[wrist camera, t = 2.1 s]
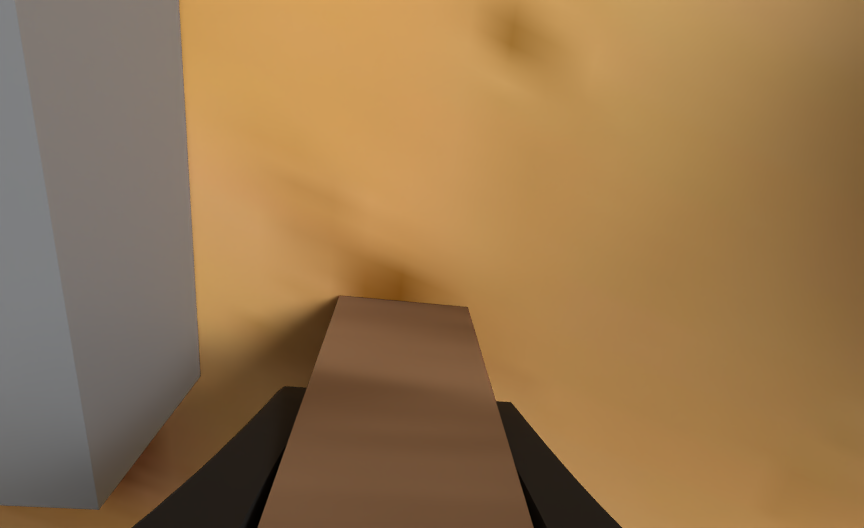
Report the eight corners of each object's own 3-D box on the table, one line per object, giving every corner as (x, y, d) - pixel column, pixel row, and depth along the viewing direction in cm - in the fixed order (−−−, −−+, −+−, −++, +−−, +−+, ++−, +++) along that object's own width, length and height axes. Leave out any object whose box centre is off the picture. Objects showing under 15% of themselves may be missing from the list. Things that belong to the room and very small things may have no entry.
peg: (450, 411, 12) (518, 902, 5) (333, 403, 12) (206, 913, 4) (467, 307, 11) (591, 724, 4) (339, 295, 11) (188, 722, 3)
